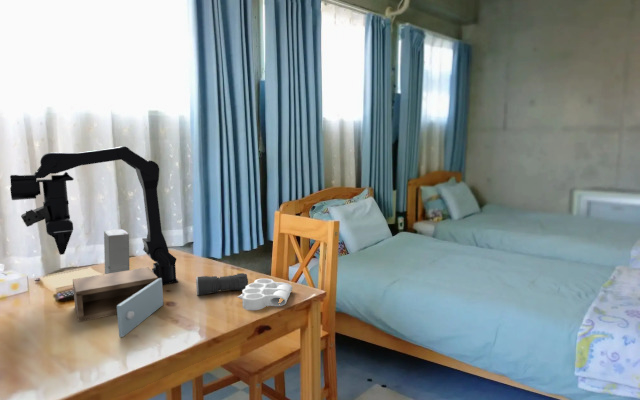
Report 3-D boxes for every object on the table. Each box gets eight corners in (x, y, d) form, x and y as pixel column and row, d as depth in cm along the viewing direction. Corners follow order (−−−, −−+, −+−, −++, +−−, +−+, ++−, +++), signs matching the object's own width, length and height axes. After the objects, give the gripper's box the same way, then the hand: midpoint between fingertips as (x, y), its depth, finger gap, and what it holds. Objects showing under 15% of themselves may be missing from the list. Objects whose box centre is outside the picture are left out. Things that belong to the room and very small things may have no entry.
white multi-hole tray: (283, 312, 118) (230, 310, 119) (294, 289, 135) (247, 288, 137) (283, 300, 117) (230, 299, 118) (293, 278, 135) (247, 278, 136)
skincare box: (104, 276, 149) (100, 230, 147) (126, 272, 153) (123, 228, 151) (109, 282, 143) (105, 235, 140) (132, 278, 147) (129, 232, 144)
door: (160, 303, 123) (159, 277, 122) (168, 304, 123) (166, 278, 122) (119, 336, 103) (116, 305, 102) (127, 336, 103) (125, 306, 101)
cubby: (150, 292, 133) (148, 267, 132) (159, 304, 123) (157, 277, 122) (75, 306, 122) (72, 279, 121) (78, 321, 112) (76, 291, 111)
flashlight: (246, 286, 138) (246, 269, 137) (249, 292, 133) (248, 274, 132) (196, 291, 133) (195, 274, 133) (197, 297, 128) (196, 280, 128)
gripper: (22, 196, 127) (27, 248, 129) (20, 203, 111) (27, 263, 113) (66, 193, 133) (71, 243, 135) (70, 199, 117) (75, 256, 119)
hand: (61, 250), depth 125 cm, fingers open, 9 cm apart
